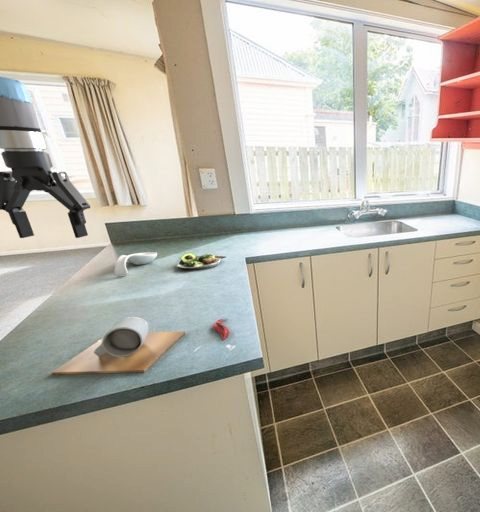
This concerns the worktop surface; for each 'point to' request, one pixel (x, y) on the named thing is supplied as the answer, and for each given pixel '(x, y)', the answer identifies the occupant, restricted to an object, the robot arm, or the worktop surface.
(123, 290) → the worktop surface
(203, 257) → the salad plate
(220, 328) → the cayenne pepper
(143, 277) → the worktop surface
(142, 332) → the ceramic mug
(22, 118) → the robot arm
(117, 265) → the spoon rest
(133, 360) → the cutting board
